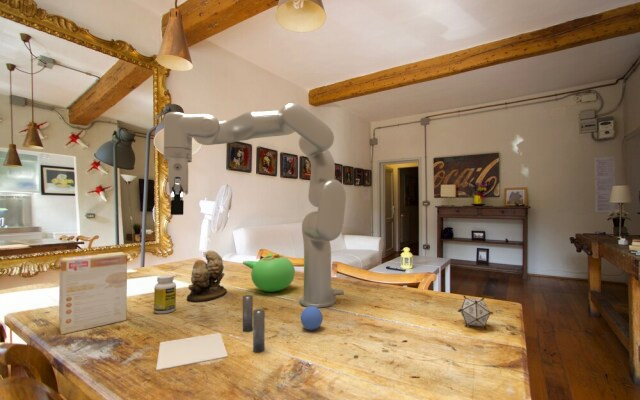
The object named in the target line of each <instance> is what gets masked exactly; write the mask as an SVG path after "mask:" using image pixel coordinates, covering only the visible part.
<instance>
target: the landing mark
mask: <svg viewBox="0 0 640 400" xmlns="http://www.w3.org/2000/svg"><path fill="white" fill-rule="evenodd" d="M228 357H229V356H228V353H227V349H226V347H225V344H224V340H223V337H222V334H221V332H217V333H212V334H211V333H210V334H205V335H198V336H192V337H187V338H179V339H174V340H173V339H172V340H167V341H160V343H159V349H158V356H157V362H156V363H157V364H156V369H155V370H156V371H161V370H162V371H163V370H167V369H171V368H172V369H173V368H176V367H181V366H187V365H188V366H189V365H192V364H193V365H194V364H199V363H204V362H209V361H213V360H214V361H215V360H219V359H225V358H228Z"/></svg>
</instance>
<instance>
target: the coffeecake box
mask: <svg viewBox="0 0 640 400" xmlns="http://www.w3.org/2000/svg"><path fill="white" fill-rule="evenodd" d="M127 273H128V254H127V253H125V252H123V251H117V252H108V253H97V254H96V253H95V254H86V255H76V256H75V255H74V256H63V257H60V259H59V289H58V290H59V291H58V292H59V298H58V299H59V301H58V302H59V303H58V305H59V308H58V315H59V316H58V329H59V331H60V334H61V335H65V334H71V333H76V332H78V331H83V330H87V329H92V328H96V327H101V326H106V325H110V324H114V323H119V322H124V321H127V316H128V315H127V314H128V313H127V311H128V310H127V308H128V307H127V306H128V304H127V299H128V297H127V296H128V295H127V293H128V292H127V290H128V280H127V279H128V275H127Z"/></svg>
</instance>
